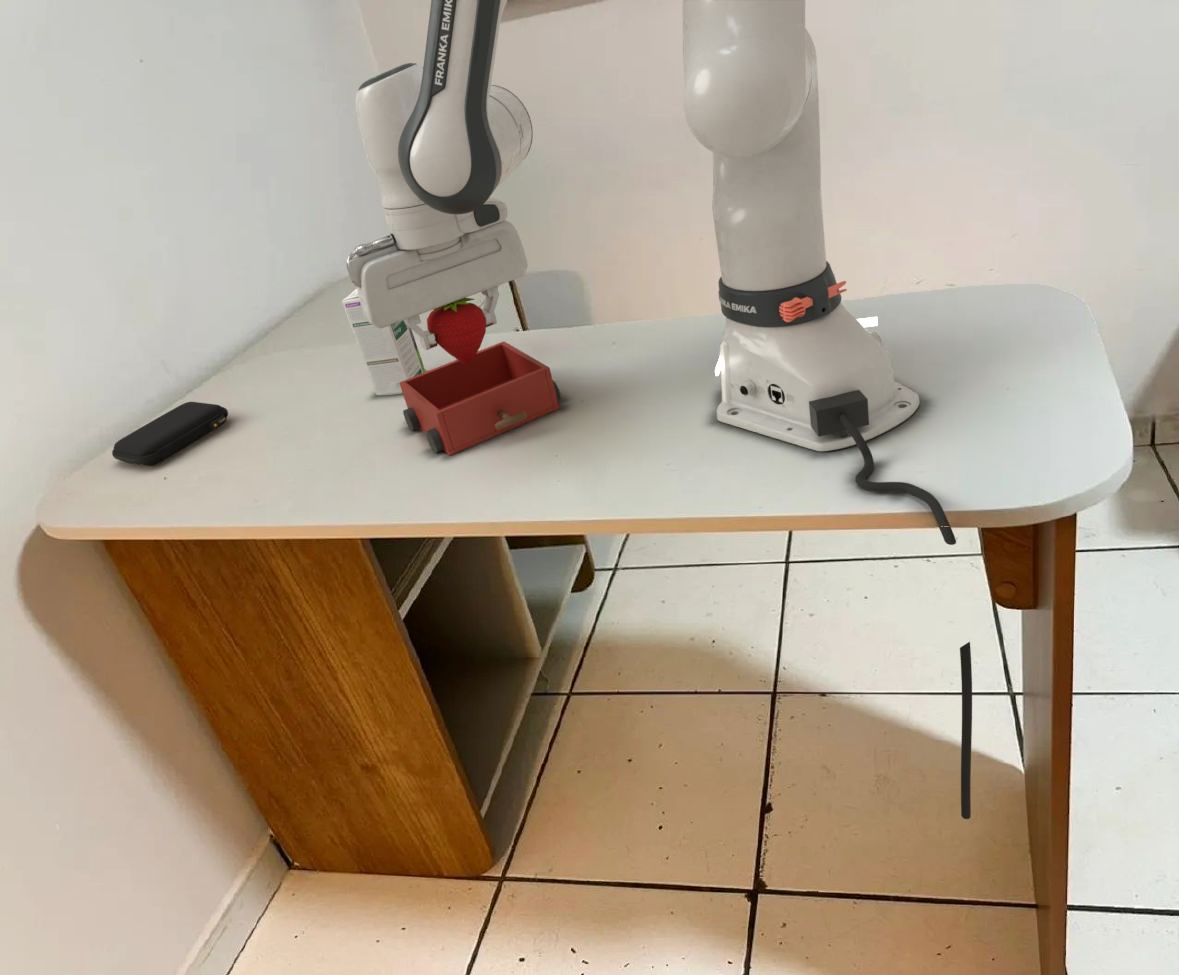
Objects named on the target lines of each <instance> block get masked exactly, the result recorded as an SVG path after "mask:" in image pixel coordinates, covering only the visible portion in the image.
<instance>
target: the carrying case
mask: <svg viewBox="0 0 1179 975" xmlns="http://www.w3.org/2000/svg"><path fill="white" fill-rule="evenodd" d="M228 416H229V411H228V409H227V408H226V407H224V406H221V405H219V404H216V403H208V402H199V401H188V402H184V403H182V404H180V405H178V406H176V407H175V408H173V409H171V410H169V411H167V412H165V413H164V414H162V415H160V416H159V417H156V418H155V419H153V420H151V421H149V422H148V423H146V424H145V425H143V426H141V427H139V428H138V429H135V430H133V431H132V432H131V433H129V434H128V435H125V436H124V437H122V438H119V440H117V441H116V442H115V443H114V445H113V449H112V450H111V451H112V452H111V456H112V457H113V458H114V459H115V460H118V461H122V462H124V463H128V464H129V463H130V464H136V465H141V466H146V467H147V466H148V467H154V466H157V465H159V464H161V463H163V462H165V461H166V460H168V459H170V458H171V457H173V456H174V455H177V454H179V453H180V452H181V451H183V450H185V449H186V448H187V447H189V446H191V445H192V444H194V443H196V442H198V441H200V440H201V439H202V438H204V437H206V436H208V435H209V434H210V433H213V432H214V431H215V430H217V429H218V428H220V427H221V426H223V425H224V424H225V423H226V422H227V420H228Z"/></svg>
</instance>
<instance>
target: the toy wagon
mask: <svg viewBox="0 0 1179 975" xmlns="http://www.w3.org/2000/svg"><path fill="white" fill-rule="evenodd" d="M399 384H400V387H401V390H402V396H403V399H404V402H405V404H406V407H407V408H406V409H403V411H402V413H403V414H402V415H403V417H404V420H405V422H406V424H407V426H408V428H409V429H410V430H411V431H412V432H413V431H416V430H418V429H420V430H421V431H422V432H423V433H424V434H425V436H426V439H427V442H428V444H429V446H430V448H431V449H432V451H433V452H434V453H436V454H437V453H439V452H441V451H444V452H445V453H446V454H447V455H448V456H453V455H455V454H457V453H459V452H462V451H464V450H466V449H469V448H471V447H473V446H476V445H478V444H480V443H483V442H485V441H487V440H489V439H492V438H494V437H497V436H499V435H501V434H504V433H506V432H508V431H511V430H513V429H515V428H518V427H520V426H522V425H524V424H526V423H529V422H531V421H534V420H536V419H538V418H541V417H544V416H545V415H547V414H550V413H553V412H554V411H556V410H559V409H560V404H559V401H560V400H561V397H562V396H561V392H560V389H559V386H558V384H557V383H556V381H554V380H553V376H552V372H551V367H549V366H548V365H547V364H545V363H543V362H541V361H539V360H537V359H535V358H534V357H532V356H530V355H529V354H527V353H525V352H523V351H522V350H520V349H518V348H516V347H515V346H513V345H511V344H510V343H508V342H506V341H503V340H502V341H501V342H499V343H495V344H493V345H491V346H488V347H486V348H485V347H484V348H483V349H479V350H478V352H477V353H476V355H475V357H474V360H473V362H472V363H470V364H468V365H465V364H463V363H461V362H460V361H459V360H457V359H455V360H453V361H449V362H448V363H444V364H443V365H440V366H438V367H435V368H432V369H430V370H427V371H426V372H424V373H422V374H419V375H417V376H414V377H412V378H409V379H407V380H404V381H402V382H400V383H399Z"/></svg>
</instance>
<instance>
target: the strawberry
mask: <svg viewBox="0 0 1179 975" xmlns="http://www.w3.org/2000/svg"><path fill="white" fill-rule="evenodd" d="M470 301H475V298H471V297H466V298H463V299H460V300H457V301H455V302H452V303H449V304H447V305H444V306H441V307H438V308H436V309H433V310H431V311H430V313H429V315H428V316H427V317H426V318H427V319H426V327H427V330H430V331H431V332H433V333H434V335H435V338H436V339H435V341H436V342H437V346H439V347H441V349H443V350H444V351H445V352H446V353H447V354H449V355H450V356H452V357H453V358H455V360H459V361H460V362H461V363H463V364H465V365H468V364H470V363H472V362H473V360H474V357H475V355H476V353H477V352H478V351H480V348H481V346H482V344H483V341H484V338H485V336H486V331H487V327H486V317H485V315H484V313H483V311H482V310H483V308H481V307H480V306H479V305H477V304H475V303H473V302H470Z"/></svg>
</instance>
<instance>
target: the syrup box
mask: <svg viewBox="0 0 1179 975" xmlns="http://www.w3.org/2000/svg"><path fill="white" fill-rule="evenodd" d="M341 304H342V306H343V309H344V311H345V314H346V317H347V320H348V323H349V325H350V328H351V330H352V334H353V337H354V339H355V342H356V344H357V348H358V350H359V352H360V355H361V358H362V360H363V363H364V365H365V366H364V367H365V368H366V371H367V374H368V377H369V379H370V382H371V386H372V387H373V390H374V393H375V395H376V396H391V395H392V396H393V395H401V394H402V395H403V393H402V390H401V387H400V384H399V383H400V382H402V381H404V380H407V379H409V378H412V377H414V376H417V375H419V374H422V373H424V372H427V371H426V369H425V366H424V363H423V360H422V356H421V354H420V350H419V348H418V345H417V342H416V338H415V336H414V332H413V330H412V329H411V328H409V327H408V326H407V325H406V324H405V323H404V320H403V321H400V322H398V323H395V324H392V325H389V326H387V327H384V328H378V327H376V326H374V325H372V324H371V323H369V322H368V321H367V320H366V319H365V317H364V315H363V312H362V308H361V304H360V300H359V295H358V289H357V288H355V289H354V290H353V291H352V292H351V293H350V294H349V295H347V296H346V297H345V298H343V299H342V301H341Z"/></svg>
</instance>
